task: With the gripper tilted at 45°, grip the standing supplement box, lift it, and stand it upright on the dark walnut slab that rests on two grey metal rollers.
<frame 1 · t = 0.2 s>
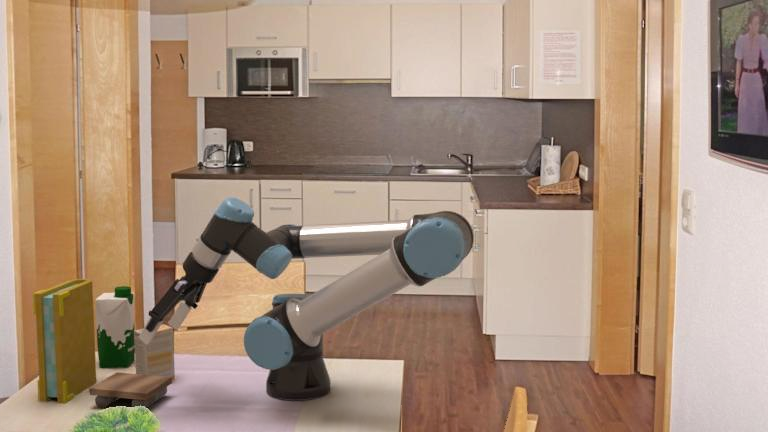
hand: (158, 333, 211), 15 cm above the table, tool tilted 35°, fingers open, 13 cm apart
book: (71, 390, 218), on the table
milk carton: (117, 364, 239), on the table
supplement box: (155, 381, 225), on the table
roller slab: (132, 401, 210), on the table
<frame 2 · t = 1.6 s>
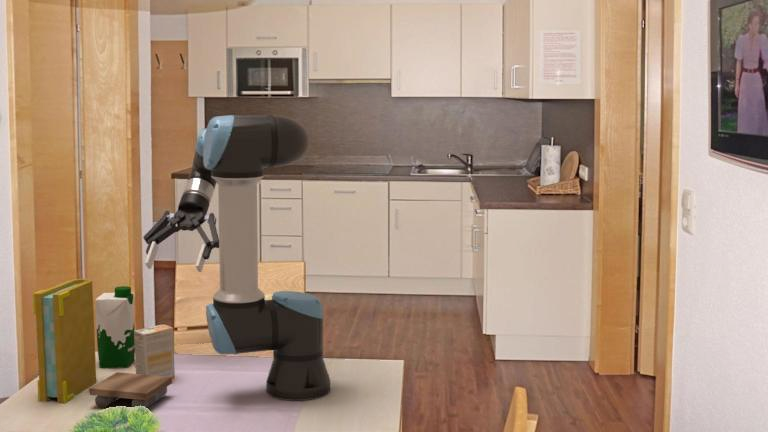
hand: (172, 267, 232), 26 cm above the table, tool tilted 45°, fingers open, 13 cm apart
nothing on the table moved.
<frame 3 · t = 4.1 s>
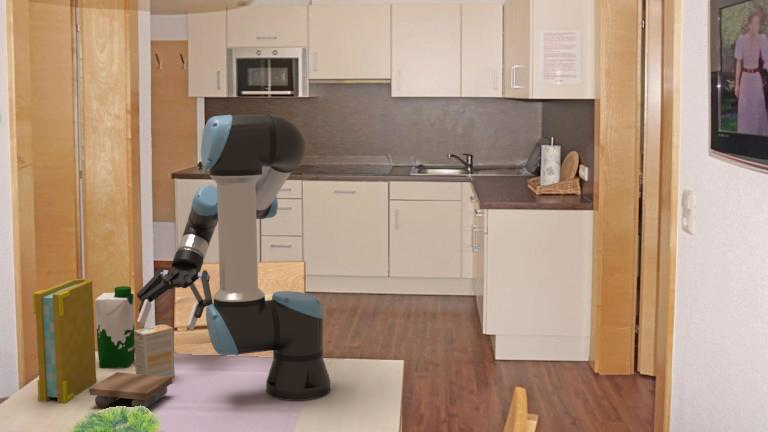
hand: (164, 326, 231), 12 cm above the table, tool tilted 45°, fingers open, 13 cm apart
nothing on the table moved.
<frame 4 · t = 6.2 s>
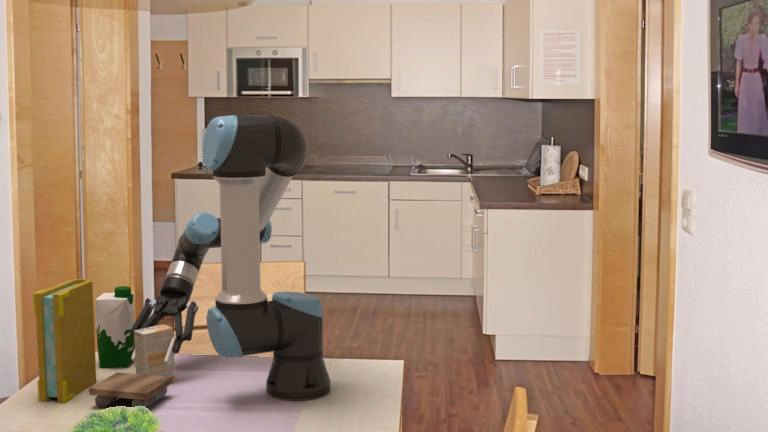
hand: (151, 362, 223), 5 cm above the table, tool tilted 45°, fingers closed on supplement box, 8 cm apart
supplement box: (155, 381, 225), on the table, touching gripper
everything else where it was.
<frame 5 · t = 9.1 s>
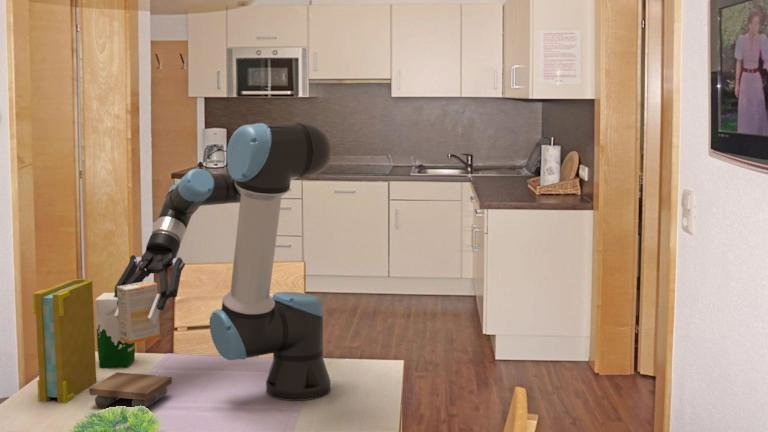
hand: (134, 319, 214), 17 cm above the table, tool tilted 45°, fingers closed on supplement box, 8 cm apart
supplement box: (140, 339, 217), point 12 cm above the table, touching gripper
everything else where it was.
when the fingers open (11 cm above the table, at t = 11.7 s): supplement box drops 1 cm, resting on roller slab.
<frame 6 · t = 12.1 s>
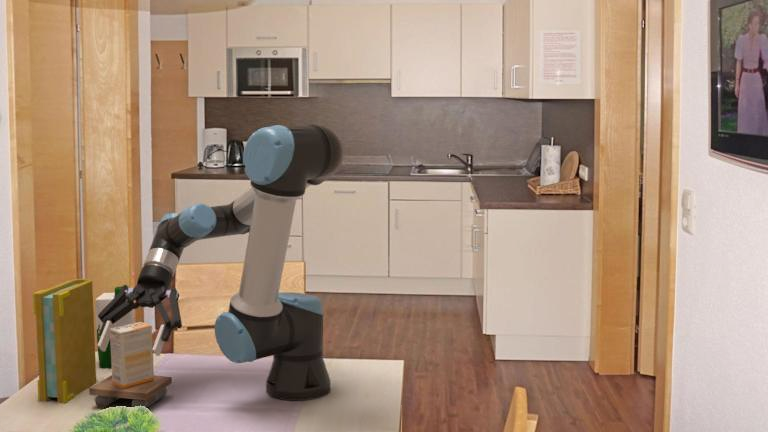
hand: (128, 350, 208), 12 cm above the table, tool tilted 45°, fingers open, 13 cm apart
supplement box: (132, 383, 210), point 4 cm above the table, touching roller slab
everything else where it was.
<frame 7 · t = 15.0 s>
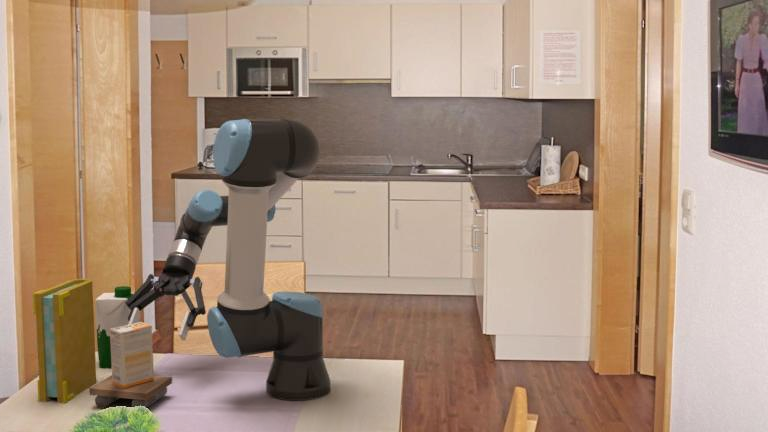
hand: (155, 335, 220), 12 cm above the table, tool tilted 45°, fingers open, 13 cm apart
nothing on the table moved.
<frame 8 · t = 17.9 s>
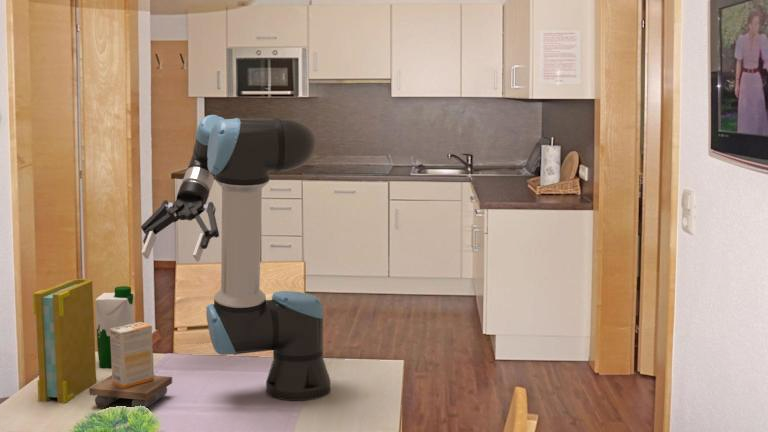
hand: (170, 257, 226), 30 cm above the table, tool tilted 45°, fingers open, 13 cm apart
nothing on the table moved.
at the end: supplement box inside the target area on the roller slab (0.4 cm from its centre), point 4.3 cm above the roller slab's base; supplement box tilted 0°; the gripper is holding nothing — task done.
